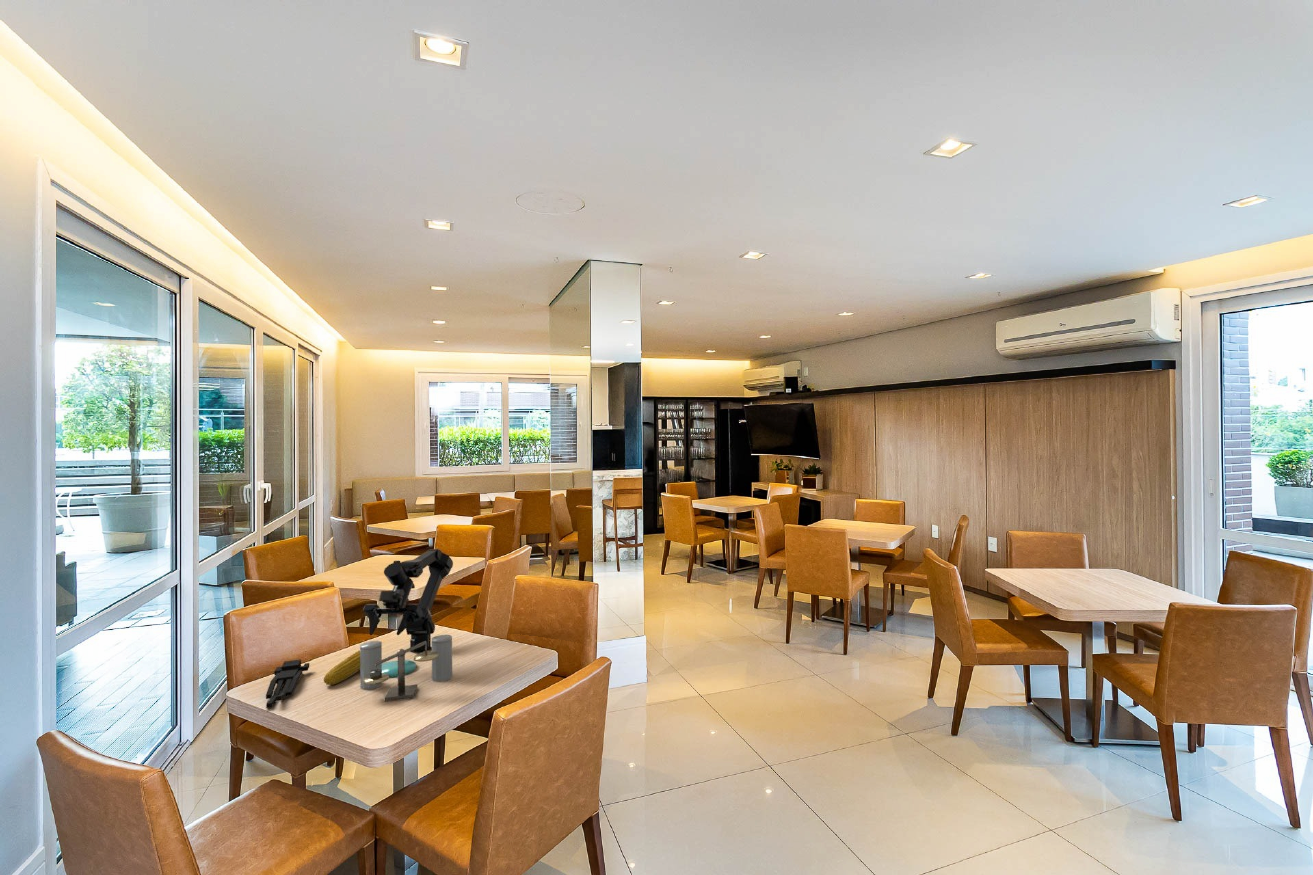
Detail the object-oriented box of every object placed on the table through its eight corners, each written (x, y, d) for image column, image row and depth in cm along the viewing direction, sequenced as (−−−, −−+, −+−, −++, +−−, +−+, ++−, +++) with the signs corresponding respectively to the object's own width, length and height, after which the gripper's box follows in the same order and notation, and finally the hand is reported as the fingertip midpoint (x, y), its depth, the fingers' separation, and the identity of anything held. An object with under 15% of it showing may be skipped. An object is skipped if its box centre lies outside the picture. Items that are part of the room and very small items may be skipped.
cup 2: (443, 673, 196) (443, 633, 196) (456, 676, 193) (456, 636, 193) (427, 679, 191) (427, 638, 191) (440, 682, 187) (440, 641, 188)
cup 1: (374, 680, 191) (373, 639, 191) (386, 683, 188) (385, 642, 188) (355, 687, 185) (355, 645, 186) (368, 690, 182) (367, 648, 183)
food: (356, 665, 206) (356, 647, 206) (372, 665, 206) (372, 647, 206) (319, 689, 185) (319, 670, 185) (336, 689, 184) (336, 670, 185)
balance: (439, 685, 185) (439, 636, 186) (436, 695, 178) (436, 644, 178) (366, 693, 180) (366, 642, 180) (360, 704, 172) (360, 651, 173)
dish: (399, 661, 208) (399, 657, 208) (424, 667, 202) (423, 663, 202) (365, 673, 197) (365, 669, 197) (389, 680, 190) (389, 676, 190)
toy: (292, 710, 172) (309, 671, 200) (292, 693, 172) (309, 657, 200) (254, 716, 169) (276, 676, 196) (254, 699, 168) (276, 661, 196)
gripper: (365, 580, 201) (346, 622, 190) (418, 580, 200) (402, 622, 189) (378, 597, 209) (360, 639, 197) (429, 597, 208) (414, 639, 196)
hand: (383, 634), depth 195 cm, fingers open, 9 cm apart
